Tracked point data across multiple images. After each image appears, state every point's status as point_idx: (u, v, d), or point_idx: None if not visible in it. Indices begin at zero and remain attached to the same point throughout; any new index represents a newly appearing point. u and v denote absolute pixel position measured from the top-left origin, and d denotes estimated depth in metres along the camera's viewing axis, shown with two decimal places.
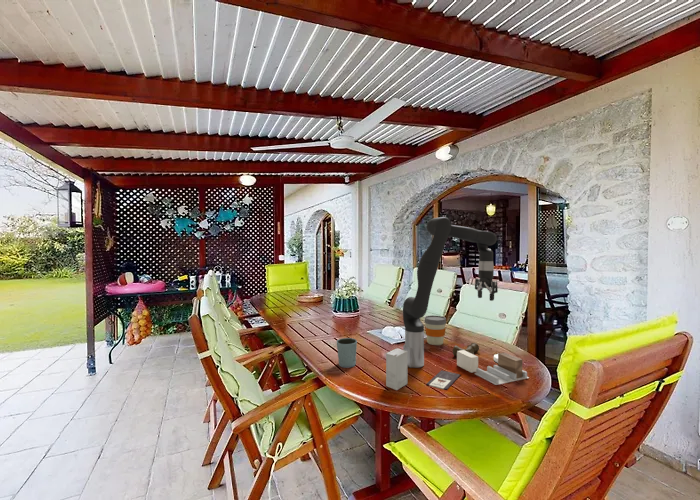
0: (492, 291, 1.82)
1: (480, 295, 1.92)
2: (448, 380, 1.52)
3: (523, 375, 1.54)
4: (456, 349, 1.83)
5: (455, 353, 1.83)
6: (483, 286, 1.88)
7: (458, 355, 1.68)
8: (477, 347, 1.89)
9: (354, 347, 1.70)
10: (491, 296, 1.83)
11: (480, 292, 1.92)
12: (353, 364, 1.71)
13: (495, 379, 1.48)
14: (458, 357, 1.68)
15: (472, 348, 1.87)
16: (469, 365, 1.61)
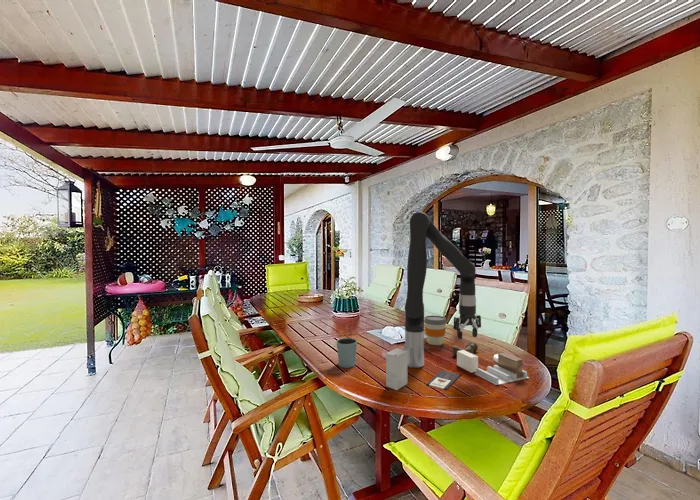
0: (479, 326, 1.65)
1: None
2: (448, 380, 1.52)
3: (523, 375, 1.54)
4: (456, 349, 1.83)
5: (455, 353, 1.83)
6: (467, 324, 1.63)
7: (458, 355, 1.68)
8: (476, 346, 1.90)
9: (354, 347, 1.70)
10: (476, 332, 1.65)
11: None
12: (353, 364, 1.71)
13: (495, 379, 1.48)
14: (458, 357, 1.68)
15: (471, 348, 1.87)
16: (469, 365, 1.61)
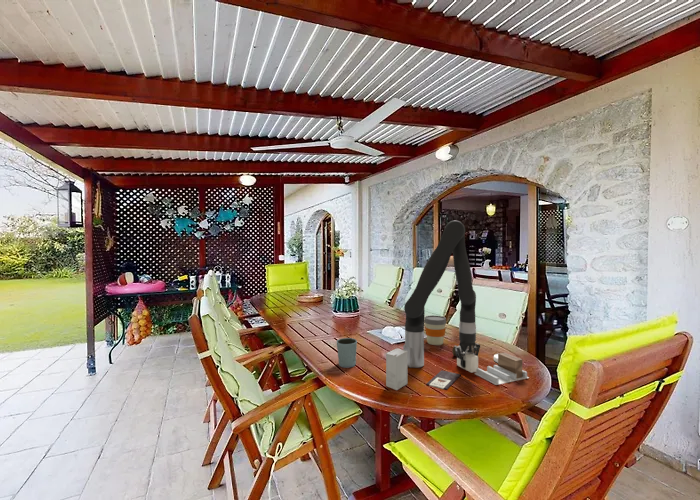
0: (476, 355, 1.65)
1: None
2: (448, 380, 1.53)
3: (523, 375, 1.54)
4: None
5: (455, 353, 1.83)
6: (469, 350, 1.64)
7: None
8: None
9: (354, 347, 1.70)
10: None
11: None
12: (353, 364, 1.71)
13: (495, 379, 1.48)
14: None
15: None
16: (469, 365, 1.61)
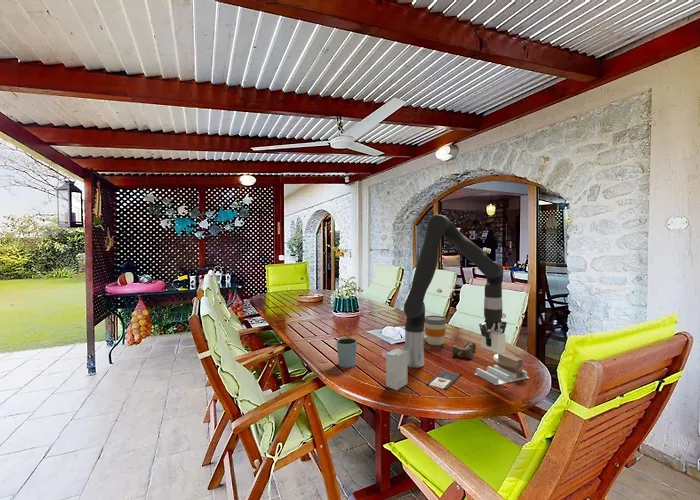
0: None
1: None
2: (448, 380, 1.53)
3: (523, 375, 1.54)
4: (455, 348, 1.83)
5: (455, 353, 1.83)
6: (495, 327, 1.52)
7: None
8: (474, 346, 1.91)
9: (354, 347, 1.70)
10: None
11: None
12: (353, 364, 1.71)
13: (495, 379, 1.48)
14: None
15: (470, 347, 1.88)
16: (496, 343, 1.49)
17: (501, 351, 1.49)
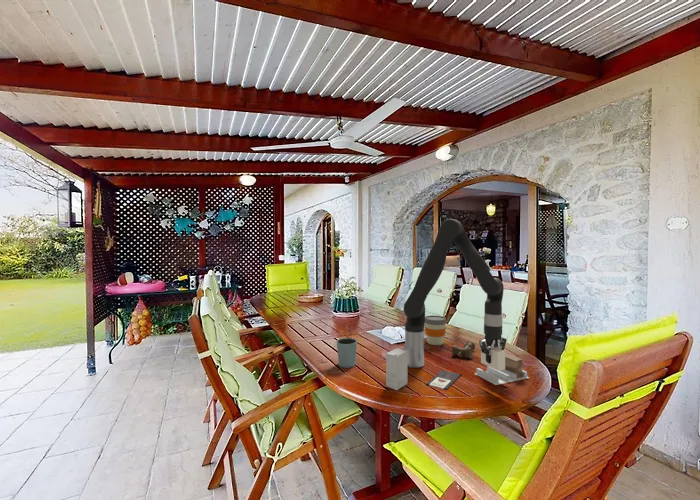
0: None
1: None
2: (448, 380, 1.53)
3: (523, 375, 1.54)
4: (455, 348, 1.84)
5: (454, 353, 1.83)
6: (494, 344, 1.53)
7: None
8: (473, 346, 1.92)
9: (354, 347, 1.70)
10: None
11: None
12: (353, 364, 1.71)
13: (495, 379, 1.48)
14: None
15: (469, 347, 1.89)
16: (496, 360, 1.49)
17: (501, 368, 1.49)
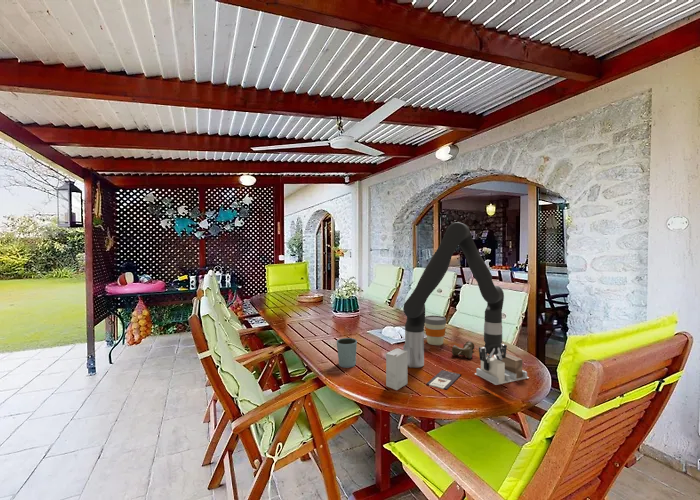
0: (503, 356, 1.54)
1: None
2: (448, 380, 1.53)
3: (523, 375, 1.54)
4: (455, 348, 1.84)
5: (454, 353, 1.83)
6: (494, 352, 1.52)
7: (482, 361, 1.57)
8: (473, 345, 1.92)
9: (354, 347, 1.70)
10: None
11: None
12: (353, 364, 1.71)
13: (495, 379, 1.48)
14: (482, 363, 1.57)
15: (469, 347, 1.89)
16: (495, 372, 1.50)
17: (500, 380, 1.49)
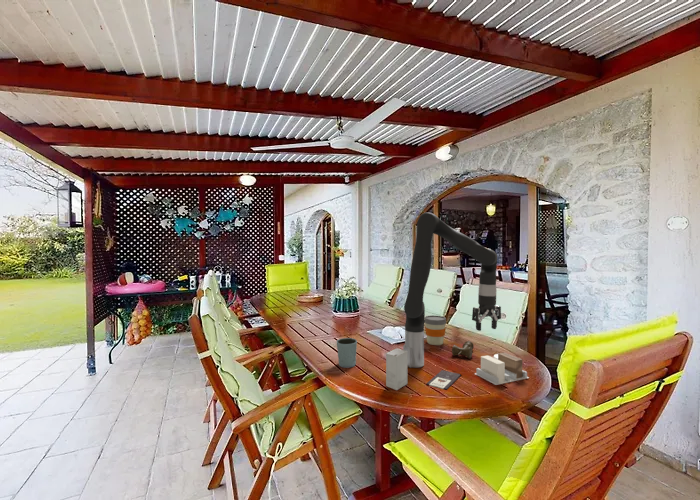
0: (499, 317, 1.58)
1: None
2: (448, 380, 1.53)
3: (523, 375, 1.54)
4: (455, 348, 1.84)
5: (454, 353, 1.84)
6: (487, 315, 1.56)
7: (482, 361, 1.57)
8: (472, 345, 1.92)
9: (354, 347, 1.70)
10: (496, 323, 1.58)
11: None
12: (353, 364, 1.71)
13: (495, 379, 1.48)
14: (482, 363, 1.57)
15: (468, 346, 1.89)
16: (495, 372, 1.50)
17: (500, 380, 1.49)
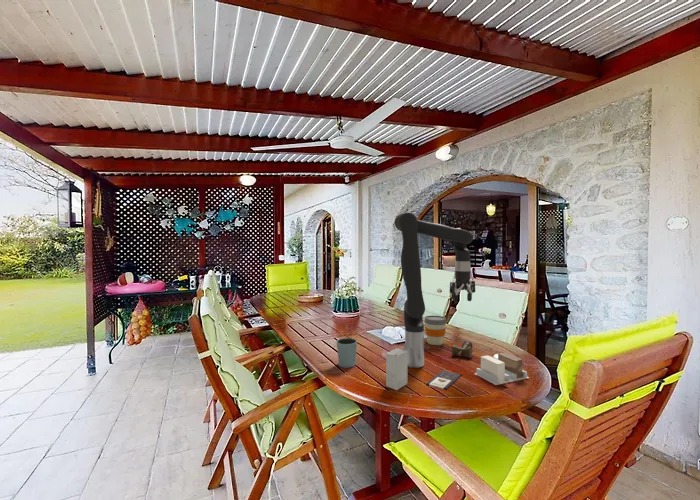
0: (473, 291, 1.78)
1: None
2: (448, 380, 1.53)
3: (523, 375, 1.54)
4: (455, 348, 1.84)
5: (454, 352, 1.84)
6: (463, 288, 1.76)
7: (482, 361, 1.57)
8: (471, 345, 1.93)
9: (354, 347, 1.70)
10: (471, 296, 1.78)
11: None
12: (353, 364, 1.71)
13: (495, 379, 1.48)
14: (482, 363, 1.57)
15: (468, 346, 1.90)
16: (495, 372, 1.50)
17: (500, 380, 1.49)
